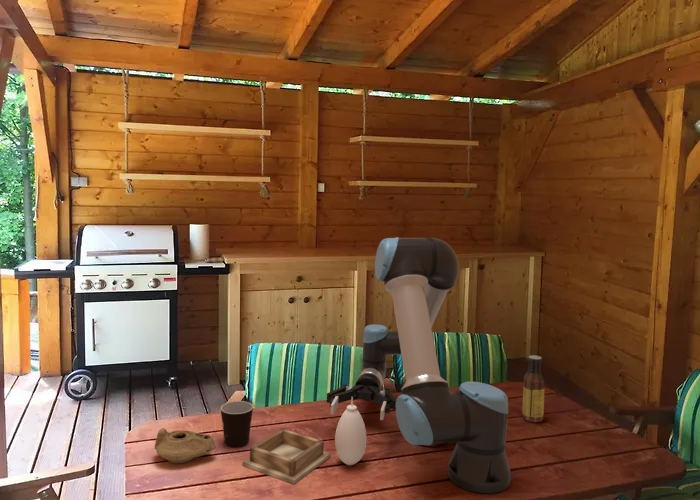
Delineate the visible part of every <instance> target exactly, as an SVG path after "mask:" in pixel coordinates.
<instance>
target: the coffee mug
mask: <svg viewBox="0 0 700 500" xmlns="http://www.w3.org/2000/svg"><path fill="white" fill-rule="evenodd" d="M253 409H254V406H253V404H252V403H251V402H249V401H243V400H236V401H235V400H234V401H229V402H226V403H223V404H222V405H221V406H220V414H221V415H220V416H221V423H222V430H223V440H224V444H225V446H226V447H228V448H232V449H233V448H234V449H239V448H243V447H246V446H247V445H248V444H249V441H250V433H251V426H252V425H251V424H252V418H253V411H254V410H253Z"/></svg>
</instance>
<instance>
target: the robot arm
mask: <svg viewBox="0 0 700 500" xmlns="http://www.w3.org/2000/svg"><path fill="white" fill-rule="evenodd" d="M459 274H460V265H459V259H458V255H457V254H456V251H455V250H454V249H453V248H452V246H450V244H448V243H447V242H446V241H444V240H443V239H440V238H437V237H398V236H396V237H387V238H383V239H382V240H381V241H380V242H379V244H378V247H377V250H376V253H375V261H374V275H375V278H376V281H377V282H381V283H382V282H383V283H384V289H385V291H386V292H388V293H390V294H391V297H392V303H393V311H394V317H395V322H396V329H397V330H392V331H391V330H389V331H388V328H387V326H385V325H383V324H373V323H372V324H369V325H366V326H365V327H364V329H363V335H362V336H363V337H362V361H361V363H362V364H361V372H360V373H359V376H358V378H357V380H356V382H355V383H354V385H353V386H352V387H349V385H348V384H345V383H344V384H343V385H342V386H341V387H338V388H336V389H334V390H332V391H330V392H327V393H326V403H327V404H329V407H330V415H332V416H334V414H335V413H336V410H337V409H338V407H339V404H342V403H344V402H348V401H351V399H352V397H353V402H354V401H357V400H363V401H368V402H369V401H371V402H372V403H376V404H377V405H379V406H380V407H381V408H380V414H379V415H380V416H379V417H380V418H379V420H380V421H384V419H385V415H386V414H389V413H390V411H391V409H392V410H394V411H395V416H396V421H397V425H398V428H399V431H400V433H401V435H402V436H403V438H404V439H405V440H406V441H407V443H409V444H410V445H414V446H431V445H436V444H437V445H438V444H447V443H449V444H450V443H456V445H455V447H454V449H453V451H452V454H451V457H450V459H449V461H448V464H447V475H448V479H449V480H450V481H451V482H452V483H453V484H455V485H456V486H457V487H458V488H459V487H460V488H462V489H464V490H465V491H469V492H473V493H479V494H496V493H499V492H503V491H505V490H506V489H508V487H509V486H510V484H511V475H512V474H511V473H512V472H511V469H510V465H509V462H508V458H507V454H506V438H507V427H508V426H507V425H508V414H509V412H510V411H509V398H508V396H507V394H506V392H504V391H503V390H502V389H500V388H498V387H497V386H493V385H491V384H488V383H484V382H480V381H479V382H478V381H464V382H462V383H461V384H460V385H459V387H458V389H459V391H451V390H450V386H449V382H448V381H447V380H445V379H444V378H443V377H442V376H441V372H440V367H439V363H438V361H439V360H438V356H437V352H436V346H435V339H434V334H433V328H432V327H433V325H434V323H435V320H436V318H437V315H438V314H439V311H440V310H441V307H442V304H443V302H444V301H445V298H446V295H447V294H448V291H449V290H451V289H452V288H454V286H455V285H456V283H457V280H458V277H459ZM395 355H401V359H402V360H401V361H402V365H403V366H402V367H403V372H404V378H405V383H404V384H403V386H402V387H401V388H400V395H398V396H397V398H395V397H394V395H393V394H392V393H391V392H390V388H385V389H383V390H381V388H382V386H383V383H384V380H385V378H386V376H387V371H388V369H387V364H386V363H387V362H386V361H387V356H395Z"/></svg>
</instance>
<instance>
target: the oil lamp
mask: <svg viewBox="0 0 700 500" xmlns="http://www.w3.org/2000/svg"><path fill="white" fill-rule="evenodd" d="M216 446H217V445H216V442H215V440H214V438H213V436H212V435H210V434H207V433H206V434H205V433H199V432H195V431H191V430H185V429H181V430H179V429H177V430H173V431H170V432H169V431H168V430H167V429H166V428H164V427H162V428H160V429H159V430H158V432H157V435H156V439H155V444H154V449H155V451H156V454H157V455H158V456H160V457H162V458H163V459H165V460H167V462H170V463H173V464H184V463H188V462H191V461H192V460H193V459H195V458H200V457H202V456H204V455H207V454H209V453H211V452H212V451H214V449H216Z"/></svg>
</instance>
